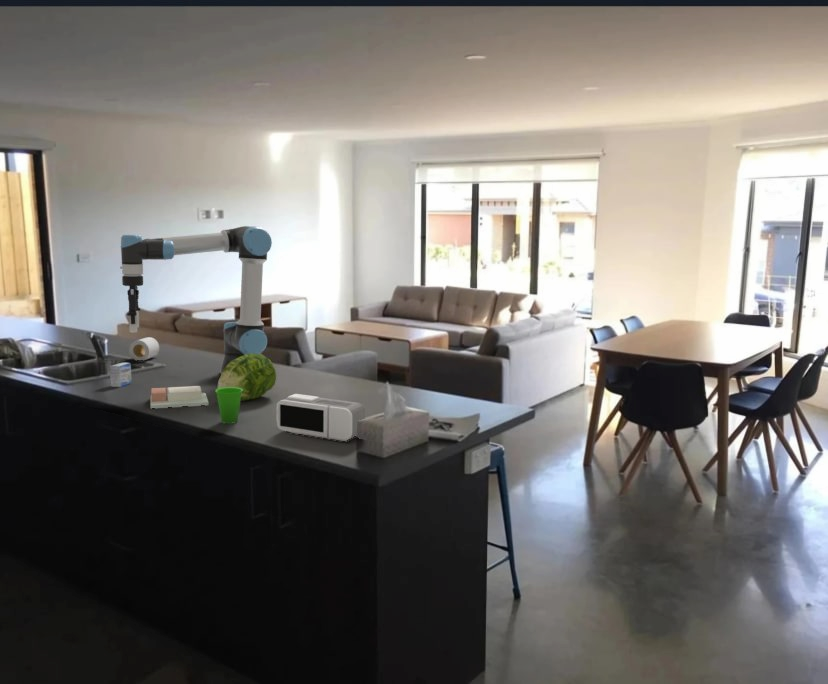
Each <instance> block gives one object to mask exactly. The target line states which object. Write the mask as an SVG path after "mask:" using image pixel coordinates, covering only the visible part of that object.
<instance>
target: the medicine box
mask: <svg viewBox="0 0 828 684" xmlns="http://www.w3.org/2000/svg"><path fill="white" fill-rule="evenodd" d="M131 366H132V365H131V363H130V362H119V363H116V364H114V365H113V364H112V365H110V366H109V371H110V372H109V376H110V377H109V378H110V387H112V388H122V387H125V386H127V385H131V384H132V367H131Z"/></svg>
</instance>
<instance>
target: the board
mask: <svg viewBox="0 0 828 684" xmlns="http://www.w3.org/2000/svg"><path fill="white" fill-rule="evenodd" d="M149 400H150V409H152V408H155V409H168V407H172V408H183V407H182V406H188V407H201V405H205V406H209V399H208V397H207V393H206V392H202V399H192V400H175V401H168V398H167V394H166V401H157V402H152V395H150V396H149Z"/></svg>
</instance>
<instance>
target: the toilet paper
mask: <svg viewBox="0 0 828 684" xmlns="http://www.w3.org/2000/svg"><path fill="white" fill-rule="evenodd" d="M128 351H129V355H130V357H131V358H132V359H133V360H135V361H137V360H143V361H142V362H144V361H146V360H149V359H151V358H154V357H156V356H157V355H158V354H159V351H160V345H159V342H158V341H157V339H155V338H154V337H149V336H148V337H144V338H140V339H138V340H135V341H133V342H131V344H130V345H129V350H128Z"/></svg>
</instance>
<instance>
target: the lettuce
mask: <svg viewBox="0 0 828 684" xmlns="http://www.w3.org/2000/svg"><path fill="white" fill-rule="evenodd" d="M220 374H221V373H220ZM276 381H277V371H276V368H275V366H274V364H273V362H272V361H271V360H270V359H269V358H268V357H267V356H265V355H263V354H262V353H260V354H255V353H250V354H246V355H243V356H241V357H239V358H237V359H234V360H232V361H231V362H229V363H228V364H227V366H226V367H225V369H224V370H223V372H222V374H221V375H220V377H219V379H218V382H217V389H219V388H224V387H237V388H241V389H243V391H242V393H241V400H240V402H245V400H247V401H250V399H251V400H255V399H258V398H260V397H262V396H264V395H266V393H268V392H269V391H271V390H272V389H273V388H274V386H275V384H276Z"/></svg>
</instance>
